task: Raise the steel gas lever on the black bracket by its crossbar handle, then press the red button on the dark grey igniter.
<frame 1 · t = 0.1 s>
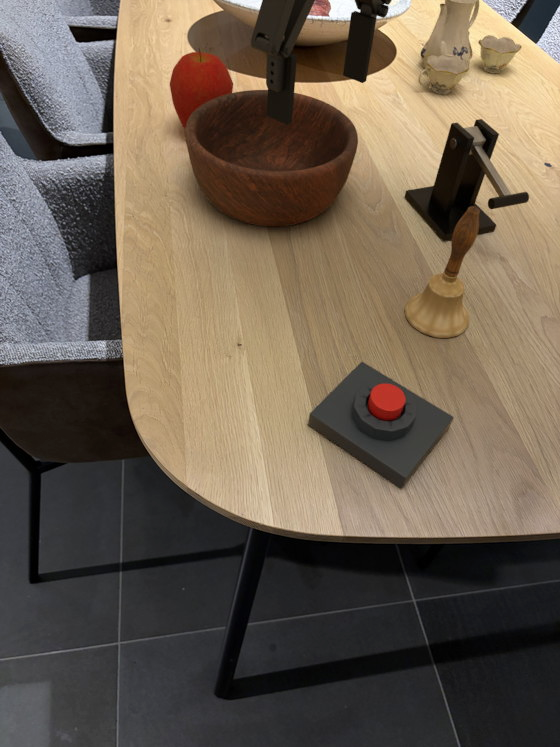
hand: (318, 97, 65), 23 cm above the table, tool pointing down, fingers open, 13 cm apart
button: (386, 402, 62), point 4 cm above the table, slide at 0.1 cm
chinaware: (453, 74, 127), on the table
bracket: (448, 213, 93), on the table
igniter: (378, 427, 66), on the table
wooden bowl: (269, 191, 95), on the table
apple: (203, 132, 105), on the table
hand bell: (435, 316, 78), on the table
lever: (488, 168, 82), point 11 cm above the table, hinge at -15.0°
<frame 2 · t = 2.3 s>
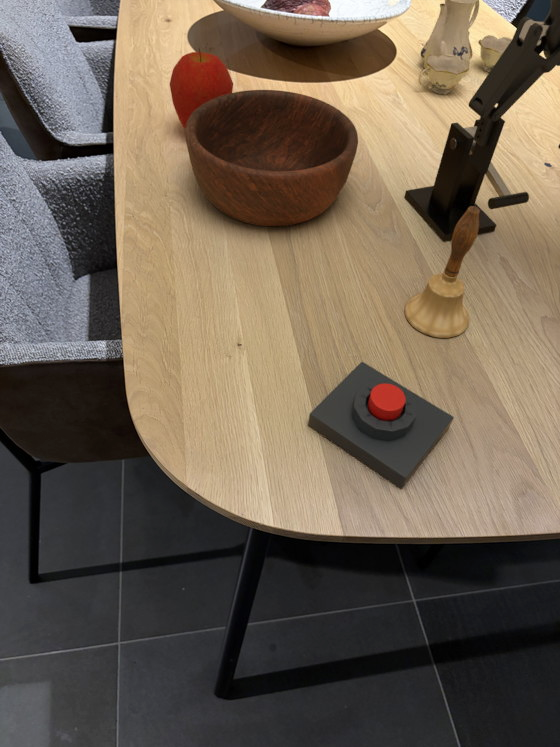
hand: (523, 160, 76), 15 cm above the table, tool pointing down, fingers open, 13 cm apart
nothing on the table moved.
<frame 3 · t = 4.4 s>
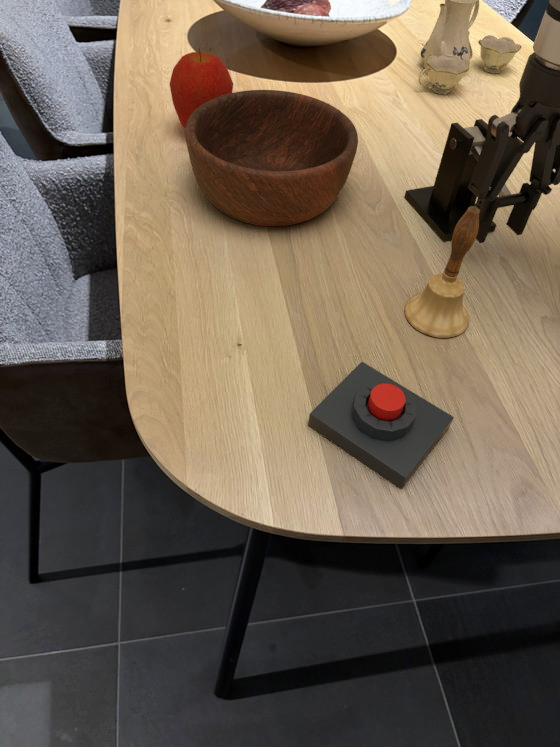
hand: (495, 232, 84), 4 cm above the table, tool pointing down, fingers closed on lever, 5 cm apart
lever: (488, 168, 82), point 11 cm above the table, hinge at -15.0°, touching gripper
everything else where it was.
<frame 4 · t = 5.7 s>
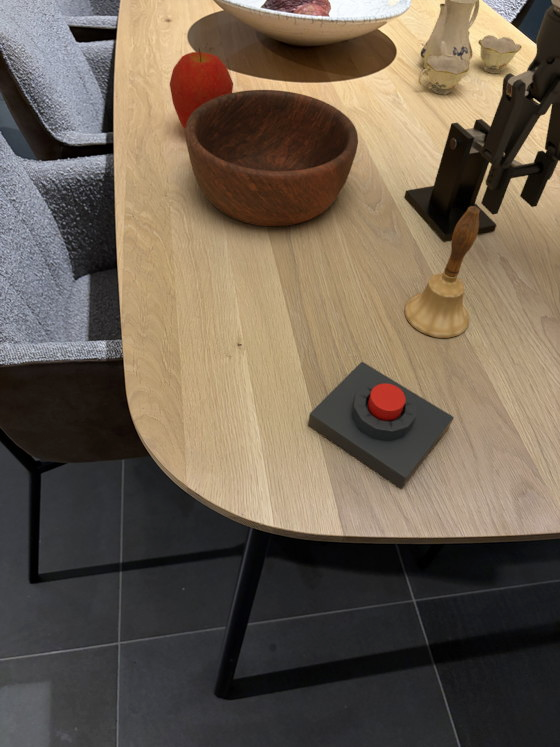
hand: (509, 204, 80), 9 cm above the table, tool pointing down, fingers closed on lever, 5 cm apart
lever: (493, 154, 80), point 13 cm above the table, hinge at 8.9°, touching gripper
everything else where it was.
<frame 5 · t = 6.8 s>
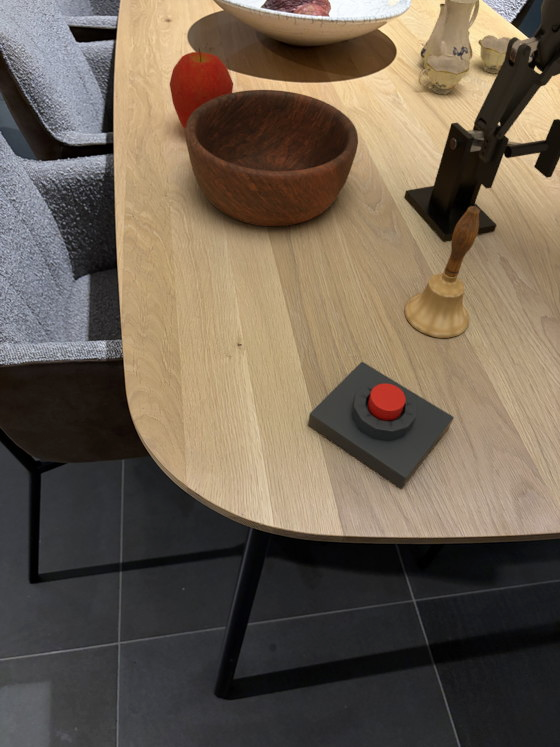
hand: (513, 177, 78), 12 cm above the table, tool pointing down, fingers open, 9 cm apart
lever: (495, 144, 80), point 14 cm above the table, hinge at 22.7°
everything else where it was.
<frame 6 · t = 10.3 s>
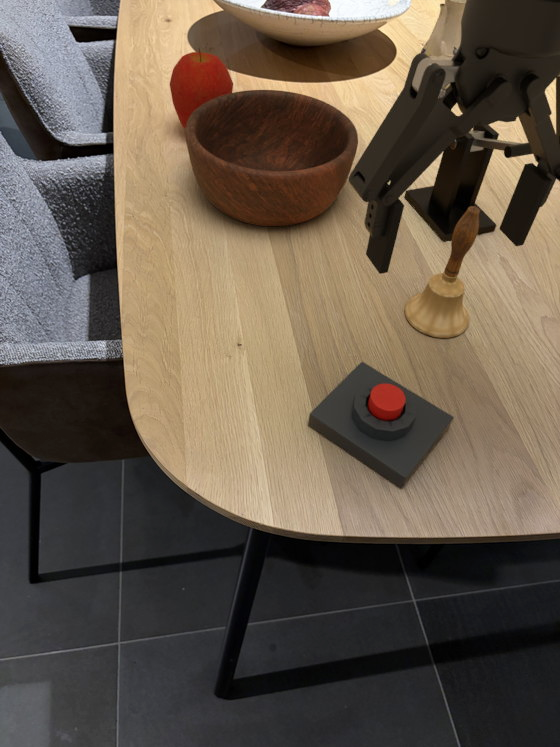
hand: (445, 250, 53), 21 cm above the table, tool pointing down, fingers open, 13 cm apart
nothing on the table moved.
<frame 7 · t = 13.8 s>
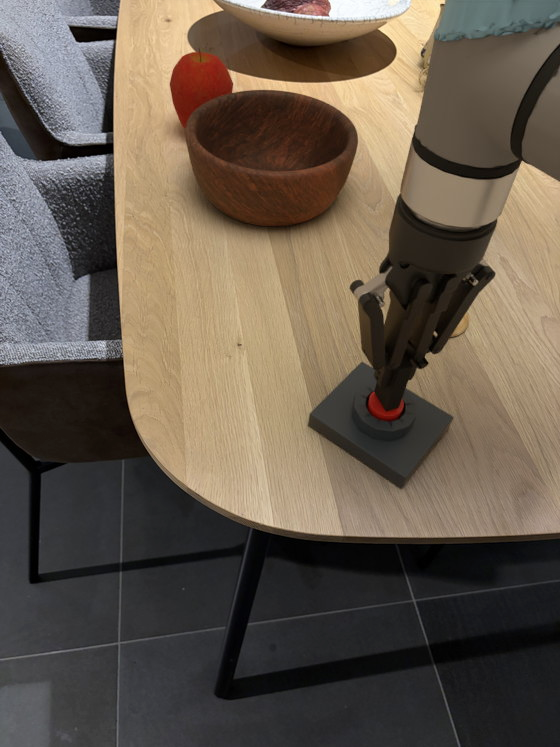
hand: (386, 399, 62), 5 cm above the table, tool pointing down, fingers closed
button: (384, 406, 63), point 4 cm above the table, slide at -0.7 cm, touching gripper
everything else where it was.
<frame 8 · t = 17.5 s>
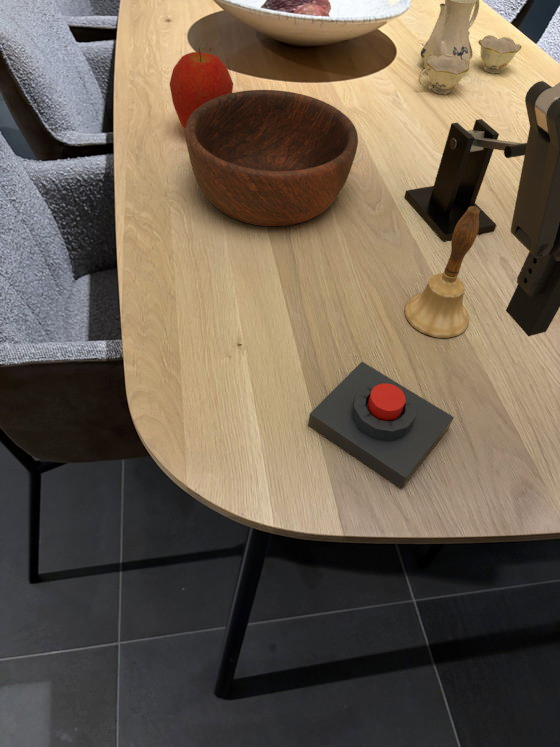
hand: (525, 320, 42), 24 cm above the table, tool pointing down, fingers closed
button: (386, 402, 62), point 4 cm above the table, slide at 0.1 cm
everything else where it was.
at the end: lever at +23° (first picture: -15°); button pushed in 1.0 cm at the most during the clip, back to where it started at the end; button slide at 0.1 cm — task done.
